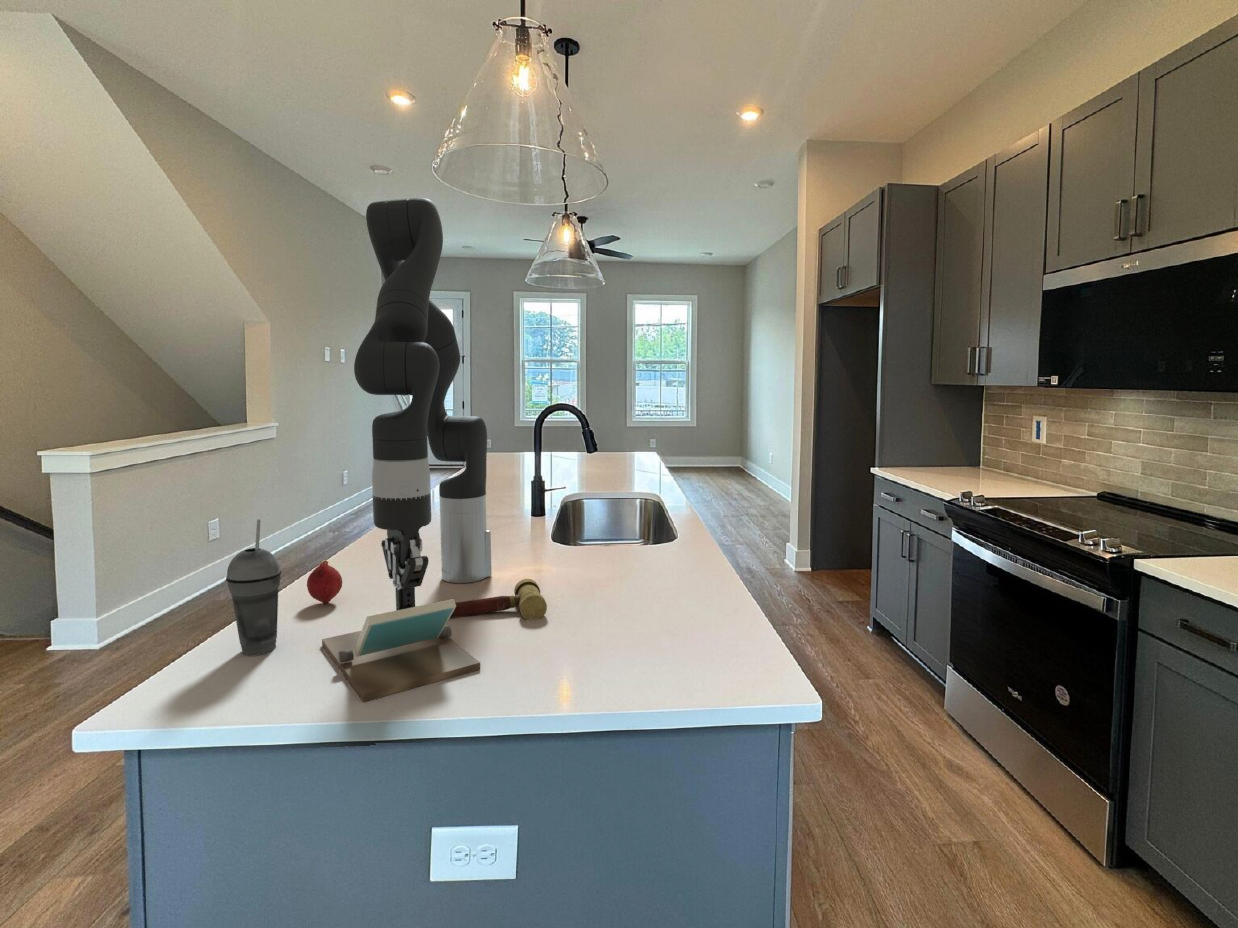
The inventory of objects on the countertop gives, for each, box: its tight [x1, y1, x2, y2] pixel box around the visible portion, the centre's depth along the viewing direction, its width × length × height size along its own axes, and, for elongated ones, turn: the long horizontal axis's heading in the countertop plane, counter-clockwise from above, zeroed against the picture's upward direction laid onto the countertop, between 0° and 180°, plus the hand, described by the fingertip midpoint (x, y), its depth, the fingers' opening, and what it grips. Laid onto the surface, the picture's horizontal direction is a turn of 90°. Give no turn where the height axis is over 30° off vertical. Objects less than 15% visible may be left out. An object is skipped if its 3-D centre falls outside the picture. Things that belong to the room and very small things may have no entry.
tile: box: [354, 598, 456, 657], centre depth 92 cm, size 12×10×1 cm
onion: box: [306, 559, 343, 604], centre depth 118 cm, size 6×6×8 cm
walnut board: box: [321, 626, 481, 703], centre depth 96 cm, size 16×22×3 cm
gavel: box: [449, 578, 548, 621], centre depth 114 cm, size 21×5×10 cm
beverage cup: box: [225, 518, 282, 657], centre depth 97 cm, size 7×7×20 cm
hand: (405, 612), depth 91 cm, fingers closed
